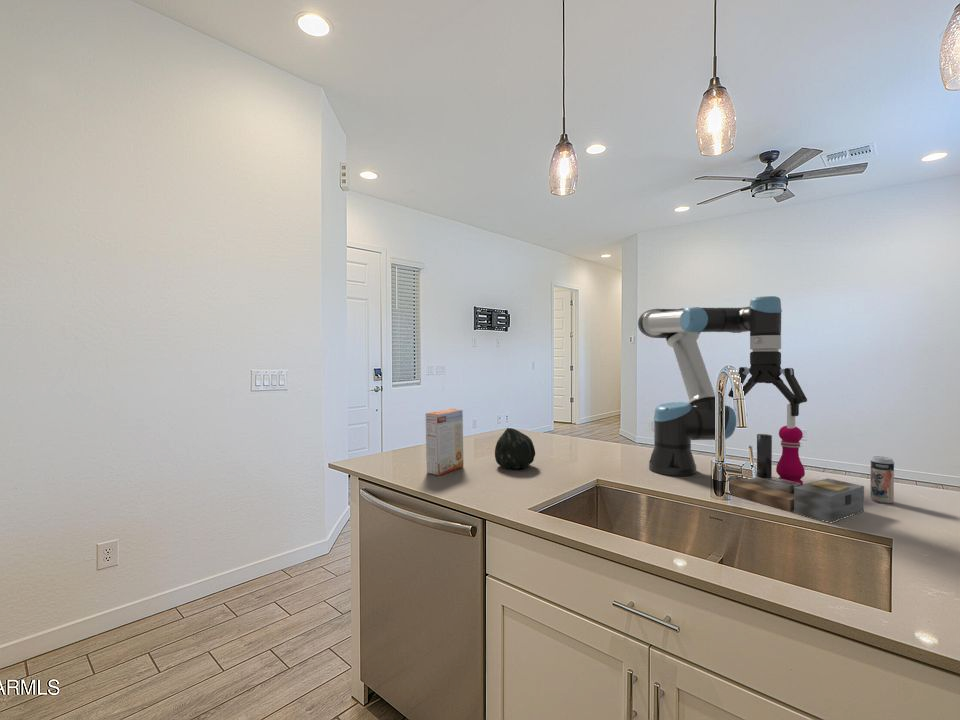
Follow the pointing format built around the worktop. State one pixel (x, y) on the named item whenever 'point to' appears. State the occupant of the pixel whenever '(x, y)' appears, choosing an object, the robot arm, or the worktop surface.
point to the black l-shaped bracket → (767, 460)
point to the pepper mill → (790, 455)
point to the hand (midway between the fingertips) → (765, 424)
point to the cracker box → (444, 441)
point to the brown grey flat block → (804, 496)
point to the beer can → (882, 479)
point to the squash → (514, 450)
